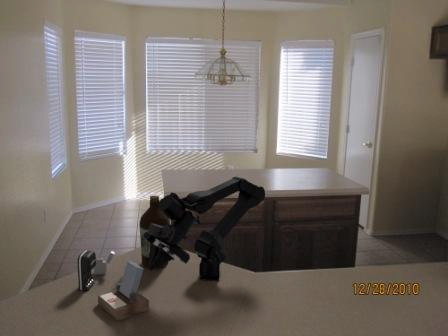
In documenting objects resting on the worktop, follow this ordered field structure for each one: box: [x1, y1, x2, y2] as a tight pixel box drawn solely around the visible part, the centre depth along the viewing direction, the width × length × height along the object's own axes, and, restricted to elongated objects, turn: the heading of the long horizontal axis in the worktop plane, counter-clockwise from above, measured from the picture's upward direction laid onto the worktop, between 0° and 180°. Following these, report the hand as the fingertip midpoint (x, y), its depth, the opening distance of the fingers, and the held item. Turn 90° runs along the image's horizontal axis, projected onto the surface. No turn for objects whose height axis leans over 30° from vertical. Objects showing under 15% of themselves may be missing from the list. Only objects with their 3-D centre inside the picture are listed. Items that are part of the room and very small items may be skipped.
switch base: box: [97, 282, 150, 322], centre depth 132 cm, size 10×12×5 cm
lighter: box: [93, 250, 116, 275], centre depth 154 cm, size 7×2×8 cm, turn 91°
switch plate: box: [100, 292, 126, 309], centre depth 130 cm, size 4×9×1 cm, turn 41°
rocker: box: [119, 261, 144, 298], centre depth 133 cm, size 2×6×10 cm, turn 42°
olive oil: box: [138, 195, 171, 270], centre depth 161 cm, size 11×11×25 cm
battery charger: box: [76, 249, 97, 291], centre depth 144 cm, size 7×4×11 cm, turn 174°
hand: (149, 270), depth 137 cm, fingers closed
